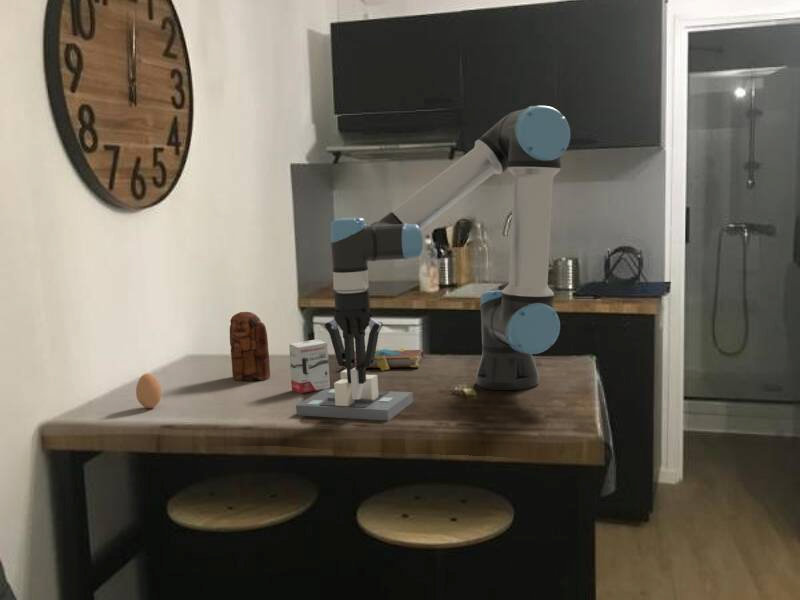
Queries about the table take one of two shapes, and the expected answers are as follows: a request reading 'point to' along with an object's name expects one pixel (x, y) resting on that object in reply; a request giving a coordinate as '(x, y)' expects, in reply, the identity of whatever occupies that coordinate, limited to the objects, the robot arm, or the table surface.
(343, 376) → the tab
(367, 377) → the tab
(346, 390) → the tab
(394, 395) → the switch bank
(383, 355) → the book
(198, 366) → the table surface
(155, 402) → the egg
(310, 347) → the ink box
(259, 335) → the wooden figurine
